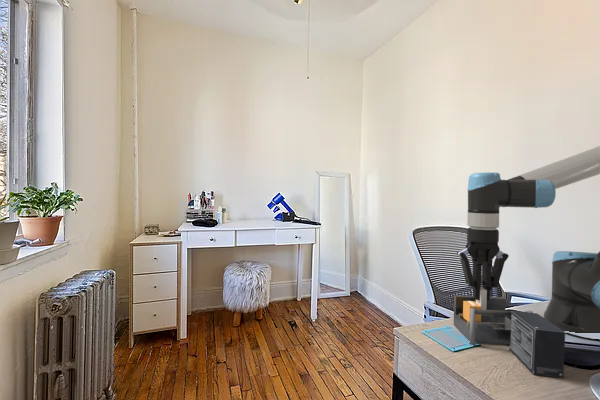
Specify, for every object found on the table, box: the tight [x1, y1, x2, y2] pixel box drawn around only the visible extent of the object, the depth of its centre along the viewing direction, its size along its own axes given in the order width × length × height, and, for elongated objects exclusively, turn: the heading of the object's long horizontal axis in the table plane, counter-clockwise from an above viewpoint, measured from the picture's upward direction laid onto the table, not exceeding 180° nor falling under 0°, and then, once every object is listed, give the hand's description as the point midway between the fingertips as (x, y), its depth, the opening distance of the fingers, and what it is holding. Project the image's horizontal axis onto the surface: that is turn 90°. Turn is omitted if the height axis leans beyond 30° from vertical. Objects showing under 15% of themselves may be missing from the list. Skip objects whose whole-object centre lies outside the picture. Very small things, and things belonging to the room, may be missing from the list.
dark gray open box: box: [453, 294, 511, 346], centre depth 82 cm, size 14×10×9 cm
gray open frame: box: [469, 308, 534, 347], centre depth 76 cm, size 15×1×10 cm, turn 84°
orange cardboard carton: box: [463, 301, 481, 322], centre depth 81 cm, size 3×4×5 cm
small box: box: [509, 310, 566, 379], centre depth 68 cm, size 11×6×10 cm, turn 168°
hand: (480, 310), depth 81 cm, fingers closed
